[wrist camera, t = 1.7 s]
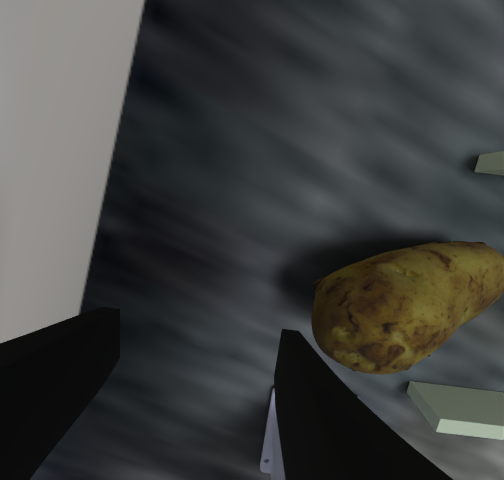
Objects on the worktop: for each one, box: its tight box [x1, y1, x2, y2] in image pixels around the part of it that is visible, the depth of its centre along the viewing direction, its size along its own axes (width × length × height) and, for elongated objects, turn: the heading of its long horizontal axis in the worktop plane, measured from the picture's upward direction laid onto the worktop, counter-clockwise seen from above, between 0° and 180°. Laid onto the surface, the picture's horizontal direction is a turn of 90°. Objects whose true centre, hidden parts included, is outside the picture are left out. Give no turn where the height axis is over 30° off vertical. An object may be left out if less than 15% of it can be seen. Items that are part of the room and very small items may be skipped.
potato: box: [312, 241, 504, 374], centre depth 15 cm, size 8×13×8 cm, turn 84°
